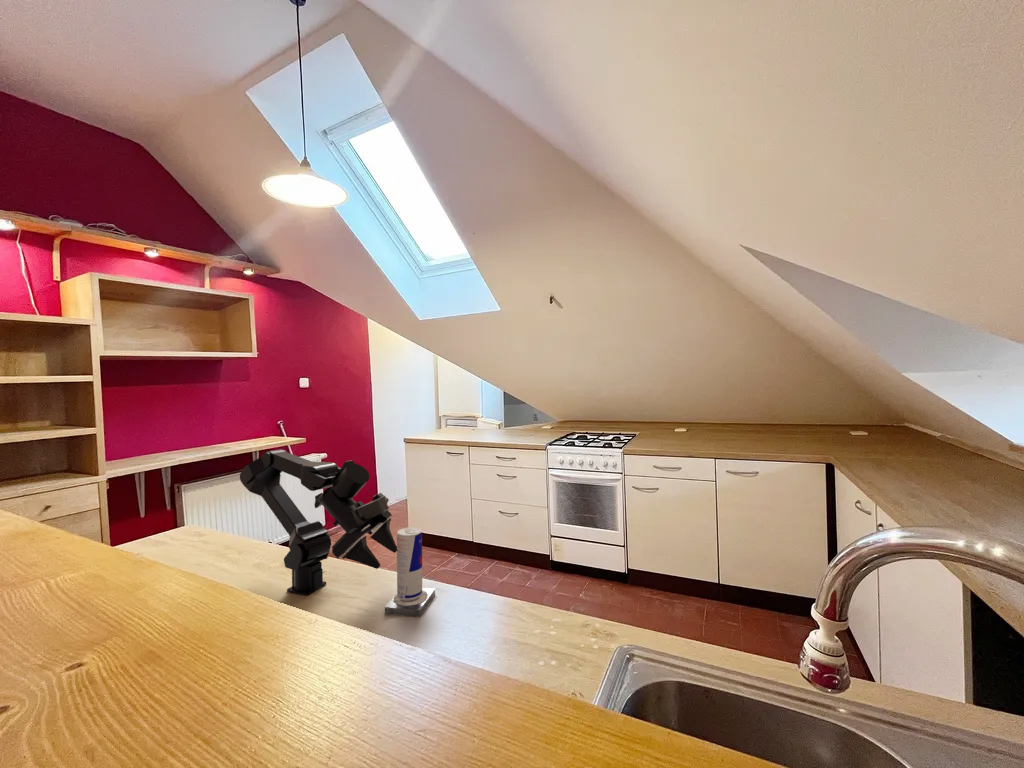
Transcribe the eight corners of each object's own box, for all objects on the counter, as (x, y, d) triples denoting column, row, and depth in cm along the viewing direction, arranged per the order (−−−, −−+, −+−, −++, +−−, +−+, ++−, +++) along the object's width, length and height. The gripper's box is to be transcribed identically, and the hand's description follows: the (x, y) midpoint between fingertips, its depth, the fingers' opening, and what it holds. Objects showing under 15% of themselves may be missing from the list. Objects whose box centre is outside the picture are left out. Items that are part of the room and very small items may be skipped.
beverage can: (416, 603, 97) (416, 535, 97) (392, 601, 98) (392, 534, 98) (426, 591, 102) (425, 527, 102) (403, 589, 103) (403, 526, 103)
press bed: (384, 614, 95) (384, 606, 95) (403, 592, 105) (403, 585, 105) (419, 617, 94) (419, 609, 94) (435, 594, 104) (435, 587, 104)
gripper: (345, 495, 92) (394, 551, 91) (384, 476, 111) (426, 522, 109) (310, 530, 93) (358, 586, 92) (355, 506, 112) (396, 552, 110)
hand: (388, 558), depth 101 cm, fingers open, 9 cm apart
